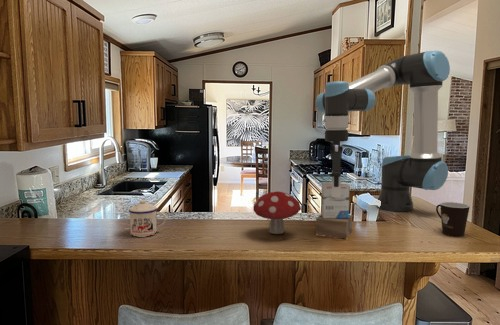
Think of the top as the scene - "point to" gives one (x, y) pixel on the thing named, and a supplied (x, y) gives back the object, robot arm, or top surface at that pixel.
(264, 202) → the decorative mushroom
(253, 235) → the top surface
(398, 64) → the robot arm
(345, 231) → the taupe block
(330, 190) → the ink box
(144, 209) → the teacup with lid
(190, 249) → the top surface
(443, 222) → the coffee mug
